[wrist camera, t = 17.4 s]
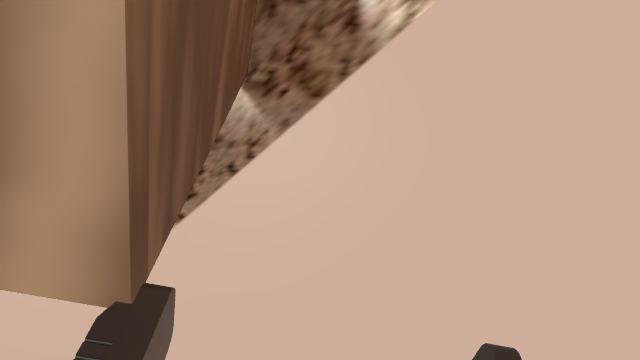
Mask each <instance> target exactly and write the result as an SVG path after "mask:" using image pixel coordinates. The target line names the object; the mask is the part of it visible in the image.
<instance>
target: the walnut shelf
mask: <svg viewBox="0 0 640 360" xmlns="http://www.w3.org/2000/svg"><path fill="white" fill-rule="evenodd" d="M256 4H257V0H0V290H5V291H11V292H17V293H24V294H29V295H35V296H42V297H47V298H53V299H59V300H65V301H71V302H77V303H83V304H89V305H95V306H101V307H107V308H108V307H110V306H111V305H112V304H113V303H114V302H115V301H117V302H123V303H128V304H133V302H134V300H135V298H136V296H137V294H138V292H139V290H140V288H141V286H142V285H143V284H144V283H145V282H146V280H147V278H148V276H149V274H150V272H151V270H152V268H153V266H154V264H155V262H156V260H157V258H158V256H159V254H160V252H161V249H162V248H163V246H164V243H165V241H166V239H167V237H168V235H169V233H170V231H171V229H172V227H173V225H174V223H175V221H176V219H177V217H178V215H179V213H180V211H181V209H182V207H183V205H184V203H185V200H186V198H187V196H188V194H189V192H190V190H191V188H192V186H193V184H194V182H195V180H196V178H197V176H198V174H199V172H200V170H201V168H202V166H203V164H204V162H205V160H206V158H207V155H208V153H209V151H210V149H211V147H212V145H213V143H214V141H215V139H216V137H217V135H218V133H219V131H220V129H221V127H222V125H223V123H224V121H225V119H226V117H227V115H228V112H229V110H230V108H231V106H232V104H233V102H234V100H235V98H236V96H237V94H238V92H239V90H240V88H241V86H242V84H243V82H244V80H245V78H246V76H247V72H248V64H249V57H250V49H251V42H252V34H253V27H254V19H255V12H256Z"/></svg>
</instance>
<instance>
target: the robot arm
mask: <svg viewBox="0 0 640 360" xmlns="http://www.w3.org/2000/svg"><path fill="white" fill-rule="evenodd" d="M174 309H175V288H171V287H166V286H160V285H154V284H149V283H144V284H143V285H142V286H141V288H140V290H139V292H138V294H137V296H136V298H135V300H134V302H133V304H128V303H123V302H117V301H115V302H114V303H113V304H112V305H111V306H110V307H108V308H107V309H106V310H105V311H104V312H103V313H102V314H100V315H99V316H98V317H97V318H96V320H95V322H94V323H93V325H92V327H91V329H90V331H89V332H88V334H87V336H86V338H85V341H84V342H83V343H82V345H81V347H80V348H79V350H78V352H77V354H76V357H75V359H73V360H165V357H166V354H167V352H168V348H169V345H170V342H171V338H172V333H173V326H174ZM472 360H522V359H521V357H520V355H519V353H518V351H517V350H516V349H514V348H510V347H504V346H499V345H493V344H487V343H485V344H483V345H482V346H481V347H480V349H479V350H478V352H477V353H476V355H475V357H474V358H473V359H472Z"/></svg>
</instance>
